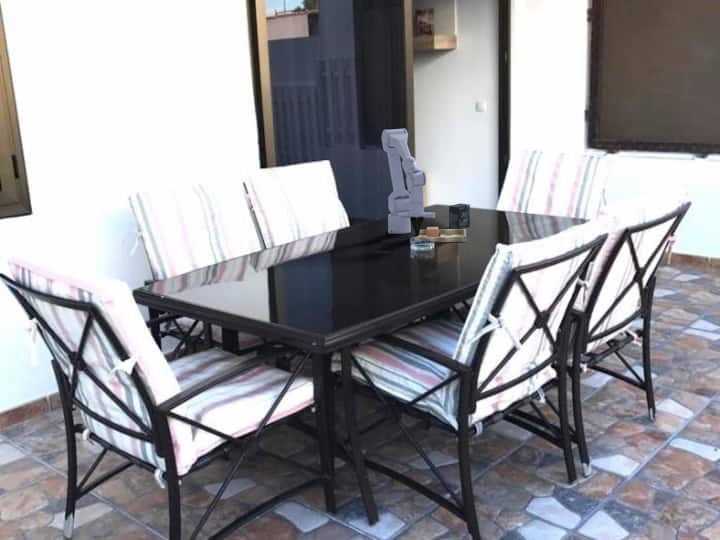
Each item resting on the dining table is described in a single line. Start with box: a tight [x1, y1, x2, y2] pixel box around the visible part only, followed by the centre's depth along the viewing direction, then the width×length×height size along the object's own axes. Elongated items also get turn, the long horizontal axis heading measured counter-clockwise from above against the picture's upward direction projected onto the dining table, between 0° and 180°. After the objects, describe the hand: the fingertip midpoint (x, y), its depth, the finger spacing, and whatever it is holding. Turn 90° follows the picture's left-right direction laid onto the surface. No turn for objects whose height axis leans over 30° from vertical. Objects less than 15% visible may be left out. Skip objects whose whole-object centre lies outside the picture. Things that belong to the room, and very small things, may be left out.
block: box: [426, 226, 440, 237], centre depth 295 cm, size 4×4×4 cm
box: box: [448, 203, 471, 229], centre depth 315 cm, size 8×6×11 cm
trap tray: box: [413, 228, 467, 243], centre depth 295 cm, size 20×16×3 cm
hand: (417, 235), depth 296 cm, fingers closed
